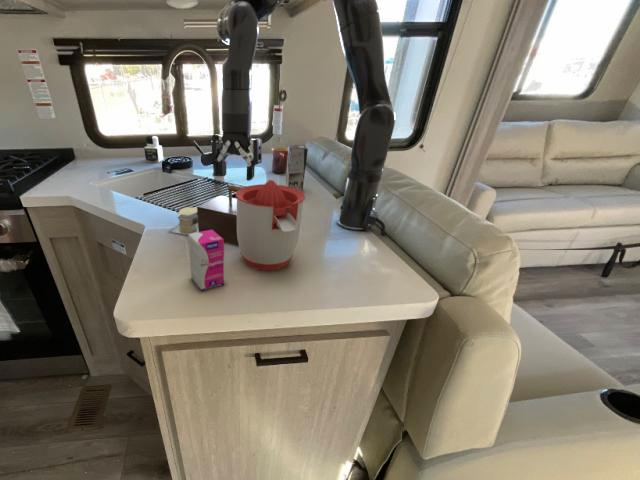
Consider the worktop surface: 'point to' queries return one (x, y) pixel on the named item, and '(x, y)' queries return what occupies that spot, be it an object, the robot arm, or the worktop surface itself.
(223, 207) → the lid
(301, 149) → the coffee box
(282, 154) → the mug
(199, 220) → the chest
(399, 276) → the worktop surface
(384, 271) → the worktop surface
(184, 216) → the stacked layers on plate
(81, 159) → the worktop surface
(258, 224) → the citrus juicer
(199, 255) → the supplement box
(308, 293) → the worktop surface
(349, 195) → the robot arm
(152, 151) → the medicine bottle
